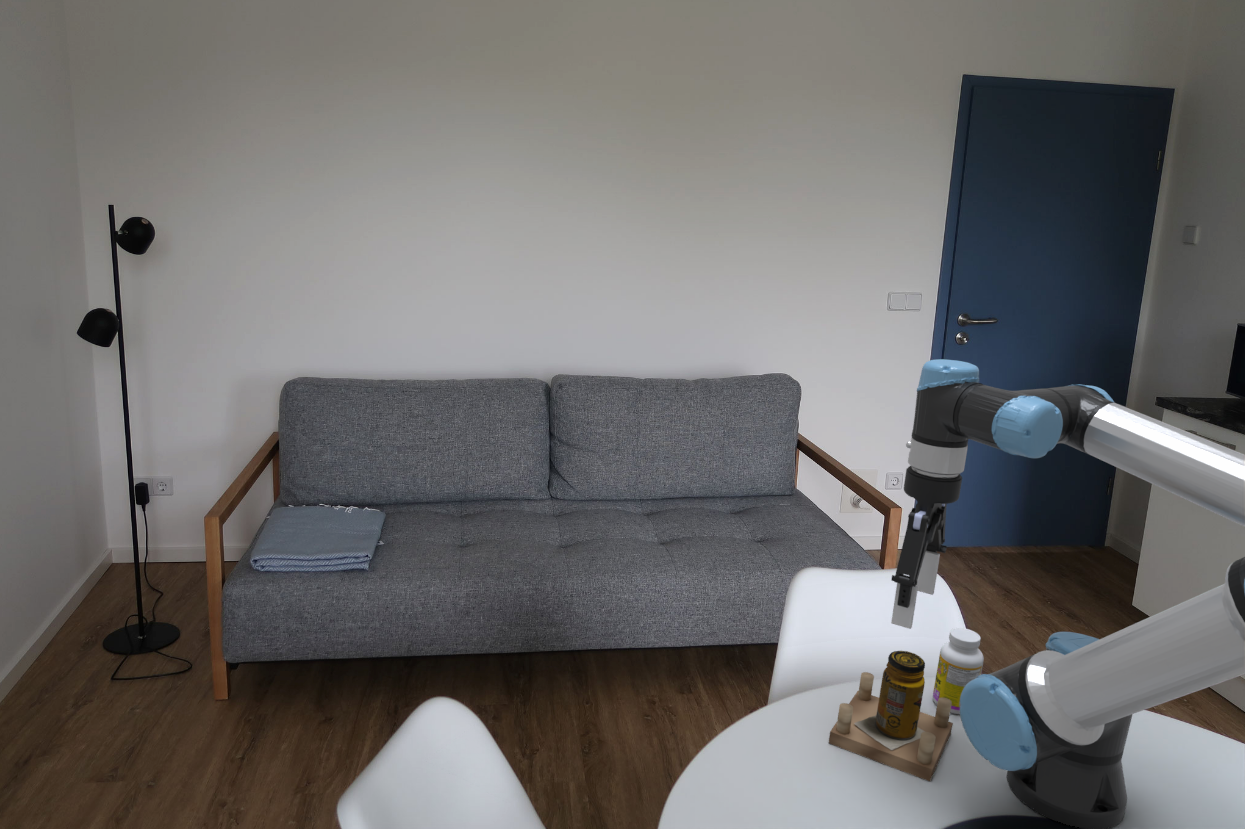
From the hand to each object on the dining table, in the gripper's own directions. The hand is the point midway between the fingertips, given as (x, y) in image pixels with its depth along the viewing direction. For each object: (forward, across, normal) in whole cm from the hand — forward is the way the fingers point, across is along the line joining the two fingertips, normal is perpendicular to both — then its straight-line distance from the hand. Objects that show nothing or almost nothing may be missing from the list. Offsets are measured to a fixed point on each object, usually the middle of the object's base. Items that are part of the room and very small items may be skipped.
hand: (913, 608), depth 130 cm
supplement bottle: (+22, -16, +6) cm, 28 cm away
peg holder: (+22, 0, 0) cm, 22 cm away
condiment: (+20, +1, 0) cm, 20 cm away
